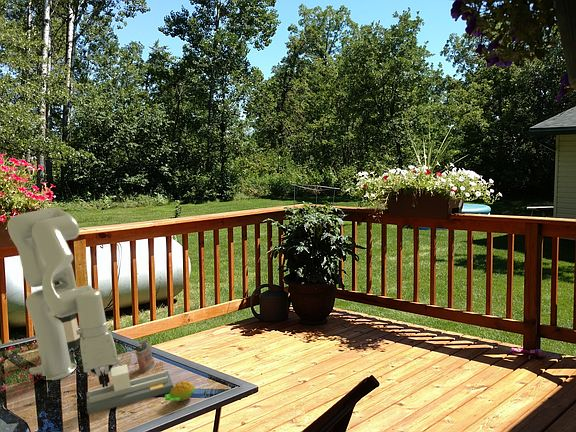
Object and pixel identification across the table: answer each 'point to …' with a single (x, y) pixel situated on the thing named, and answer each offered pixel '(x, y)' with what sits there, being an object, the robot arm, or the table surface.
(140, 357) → the lighter
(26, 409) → the table surface
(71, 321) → the wine bottle
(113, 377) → the fader knob
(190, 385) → the toy pineapple
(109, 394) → the fader board
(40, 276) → the robot arm
